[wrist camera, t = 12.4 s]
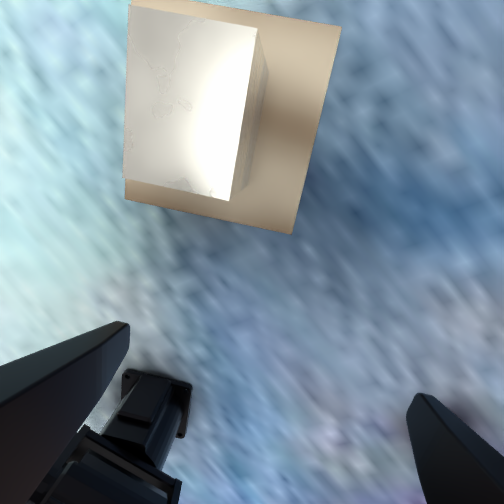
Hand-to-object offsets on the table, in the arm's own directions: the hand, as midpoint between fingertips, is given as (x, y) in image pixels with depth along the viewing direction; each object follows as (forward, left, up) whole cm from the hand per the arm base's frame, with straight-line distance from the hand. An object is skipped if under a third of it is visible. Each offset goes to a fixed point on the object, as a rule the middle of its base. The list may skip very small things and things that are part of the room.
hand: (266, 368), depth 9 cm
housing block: (+7, +5, -10) cm, 14 cm away
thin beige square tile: (+7, +5, -13) cm, 16 cm away
